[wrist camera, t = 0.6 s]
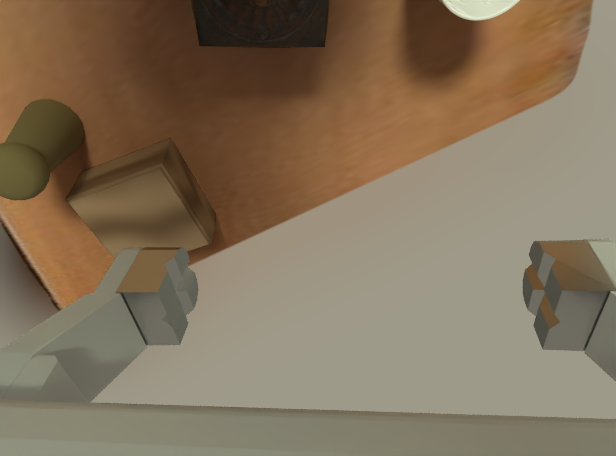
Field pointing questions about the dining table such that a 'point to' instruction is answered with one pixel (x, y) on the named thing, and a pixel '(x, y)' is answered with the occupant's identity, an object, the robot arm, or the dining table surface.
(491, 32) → the dining table surface
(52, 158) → the olive knobbed peg
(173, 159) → the walnut block
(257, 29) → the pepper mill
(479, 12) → the white cup
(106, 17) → the dining table surface
